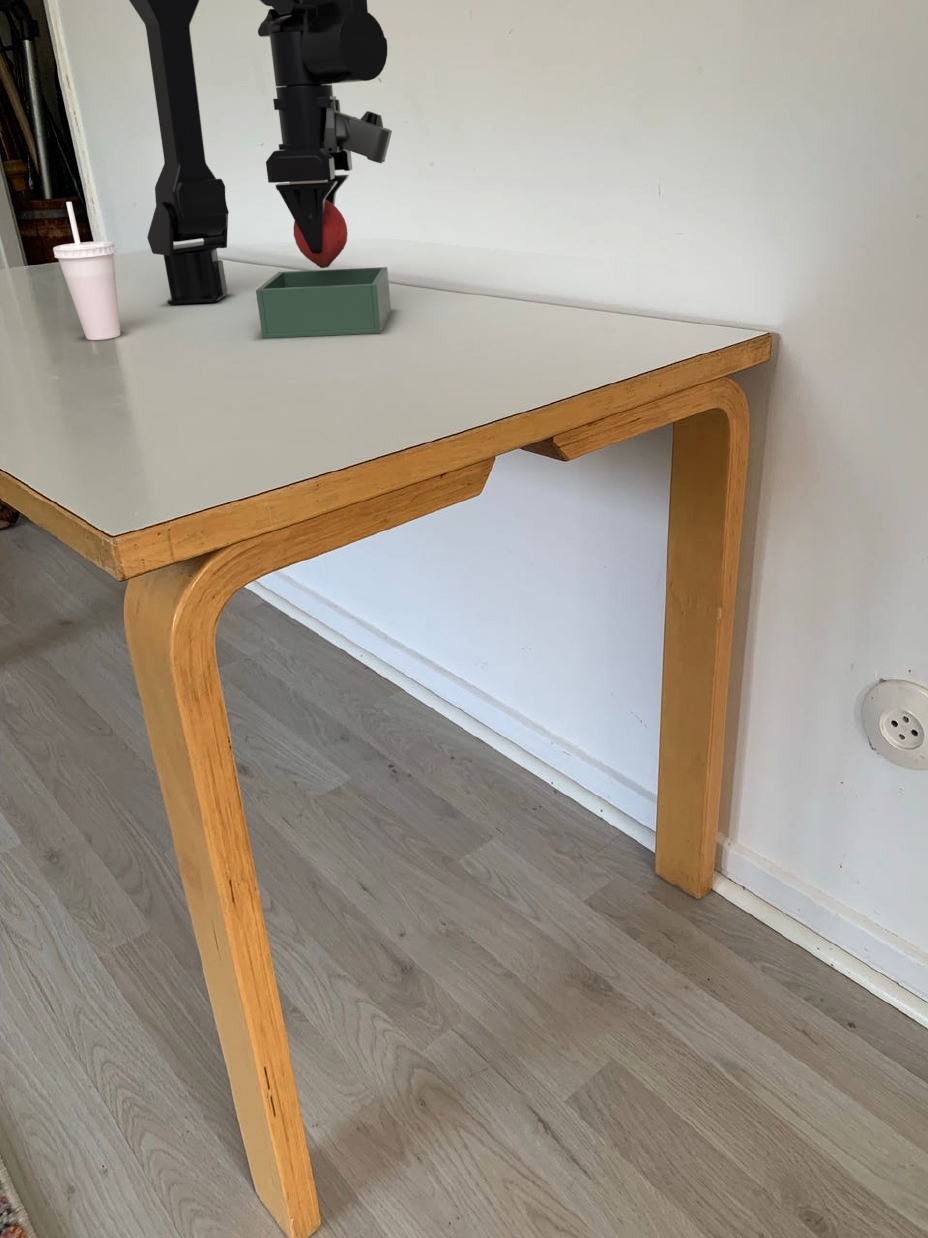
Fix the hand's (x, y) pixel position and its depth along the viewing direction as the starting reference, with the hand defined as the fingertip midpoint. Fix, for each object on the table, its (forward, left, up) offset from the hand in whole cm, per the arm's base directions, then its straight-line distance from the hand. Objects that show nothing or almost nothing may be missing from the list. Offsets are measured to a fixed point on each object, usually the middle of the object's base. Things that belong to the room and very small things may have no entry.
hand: (321, 249), depth 104 cm
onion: (0, 0, -2) cm, 2 cm away
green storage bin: (0, 0, -8) cm, 8 cm away
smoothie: (-25, -2, -8) cm, 27 cm away
